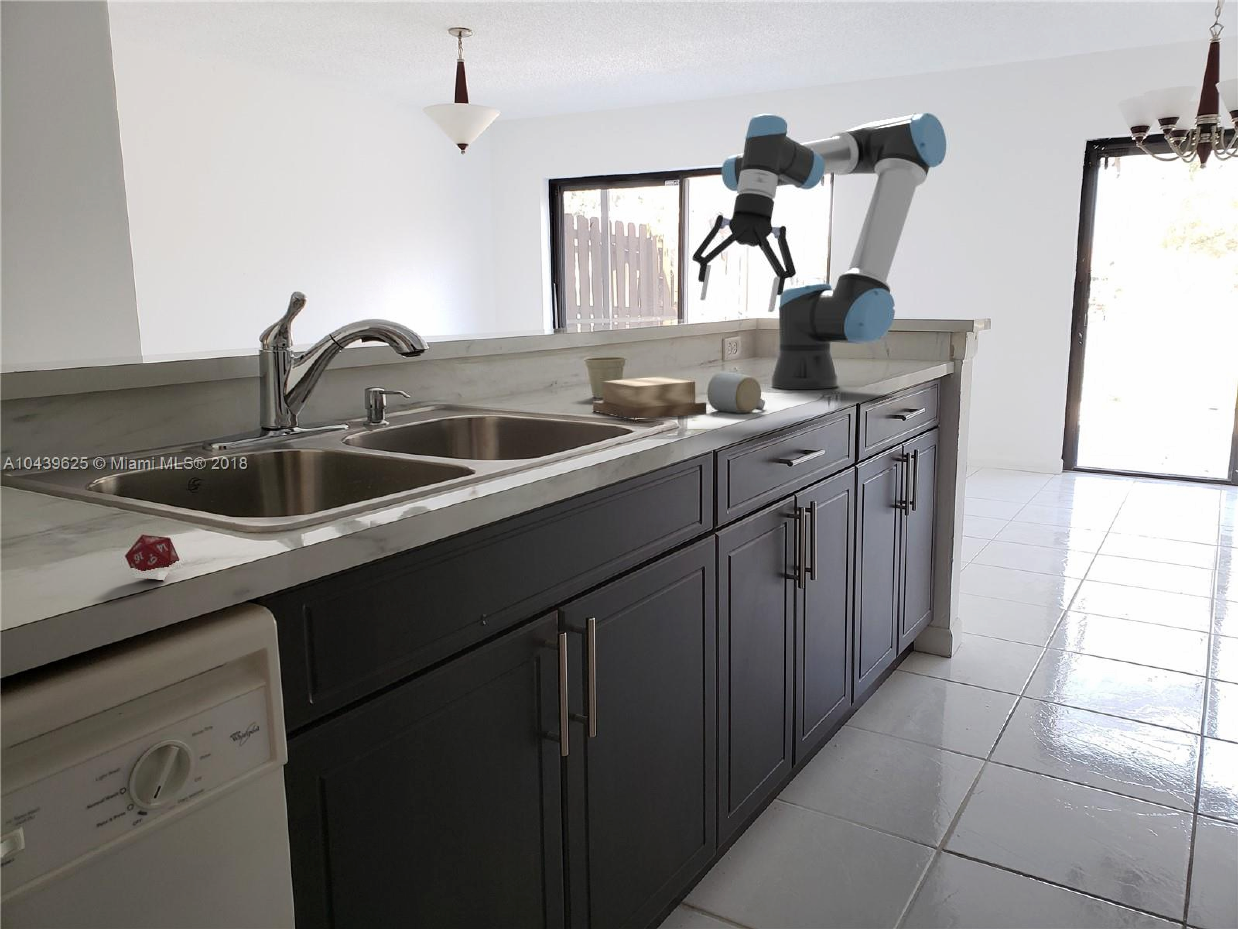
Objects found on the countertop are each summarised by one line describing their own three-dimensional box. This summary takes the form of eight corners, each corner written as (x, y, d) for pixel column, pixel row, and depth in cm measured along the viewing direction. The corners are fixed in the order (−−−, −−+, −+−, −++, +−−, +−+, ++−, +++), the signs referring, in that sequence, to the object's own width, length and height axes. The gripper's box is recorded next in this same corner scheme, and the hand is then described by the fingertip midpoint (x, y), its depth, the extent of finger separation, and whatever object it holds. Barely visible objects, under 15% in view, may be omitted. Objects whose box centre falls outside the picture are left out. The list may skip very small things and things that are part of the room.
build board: (661, 404, 193) (661, 395, 193) (706, 412, 179) (706, 402, 179) (593, 411, 185) (592, 401, 185) (634, 420, 172) (634, 409, 171)
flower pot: (578, 399, 207) (577, 359, 205) (595, 394, 215) (594, 356, 214) (617, 400, 203) (616, 360, 202) (633, 395, 212) (632, 356, 210)
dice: (154, 589, 79) (149, 543, 79) (118, 583, 81) (112, 538, 80) (191, 576, 83) (186, 532, 82) (156, 571, 85) (150, 528, 84)
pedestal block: (659, 396, 191) (658, 376, 190) (695, 402, 180) (695, 381, 179) (603, 401, 184) (602, 381, 184) (637, 408, 173) (636, 386, 173)
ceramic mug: (737, 416, 174) (738, 374, 173) (706, 412, 180) (706, 372, 179) (775, 411, 181) (776, 371, 180) (743, 407, 187) (744, 369, 186)
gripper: (694, 181, 179) (675, 291, 180) (822, 203, 179) (803, 313, 180) (690, 191, 186) (672, 297, 187) (814, 212, 187) (795, 318, 187)
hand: (736, 305), depth 183 cm, fingers open, 13 cm apart
